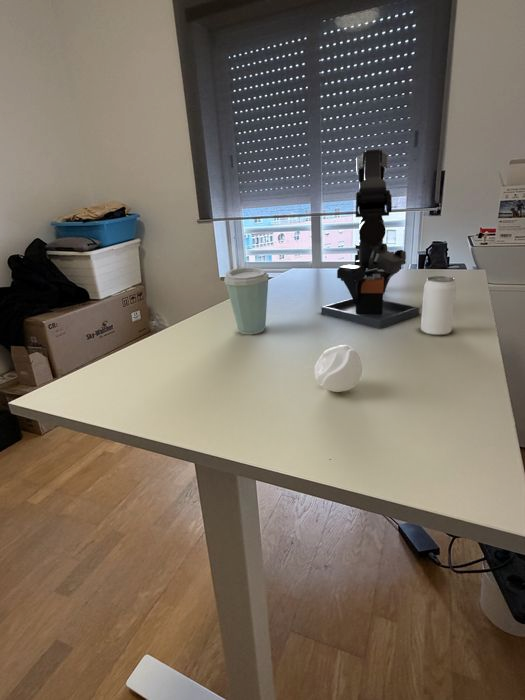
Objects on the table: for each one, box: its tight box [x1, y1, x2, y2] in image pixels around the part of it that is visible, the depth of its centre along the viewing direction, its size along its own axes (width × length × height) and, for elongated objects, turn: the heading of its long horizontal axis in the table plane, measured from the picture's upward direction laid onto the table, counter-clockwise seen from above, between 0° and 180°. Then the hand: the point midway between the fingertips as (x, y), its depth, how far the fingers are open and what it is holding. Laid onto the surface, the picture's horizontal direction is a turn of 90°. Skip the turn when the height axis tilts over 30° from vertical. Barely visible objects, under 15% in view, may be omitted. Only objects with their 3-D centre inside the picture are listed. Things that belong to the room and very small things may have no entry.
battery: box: [356, 274, 384, 314], centre depth 106 cm, size 4×7×10 cm, turn 74°
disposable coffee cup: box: [223, 266, 270, 335], centre depth 98 cm, size 11×11×15 cm
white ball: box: [313, 344, 363, 393], centre depth 67 cm, size 8×8×8 cm
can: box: [420, 275, 457, 336], centre depth 90 cm, size 6×6×12 cm
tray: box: [320, 297, 420, 330], centre depth 108 cm, size 20×16×2 cm
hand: (369, 301), depth 107 cm, fingers open, 9 cm apart
